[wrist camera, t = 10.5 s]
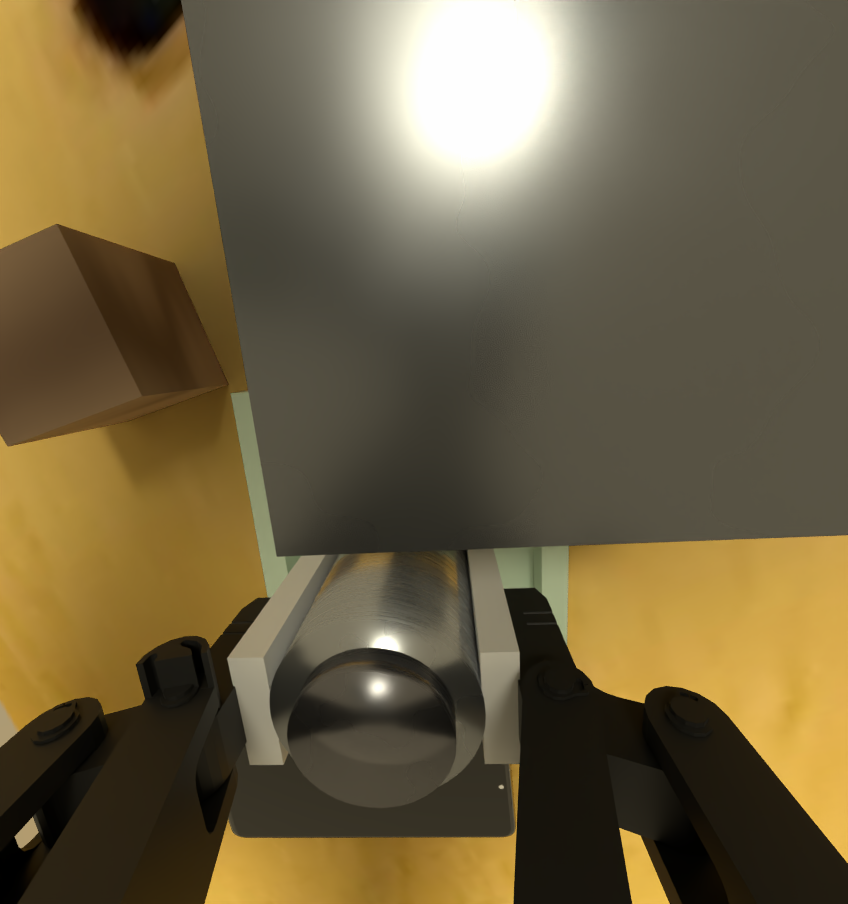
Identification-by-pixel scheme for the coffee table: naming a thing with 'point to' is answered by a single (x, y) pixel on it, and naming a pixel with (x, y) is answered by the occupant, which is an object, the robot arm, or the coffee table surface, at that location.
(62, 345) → the walnut block
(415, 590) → the cartridge
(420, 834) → the smartphone
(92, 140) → the coffee table surface
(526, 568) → the tray
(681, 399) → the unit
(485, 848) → the coffee table surface
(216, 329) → the coffee table surface
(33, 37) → the coffee table surface
